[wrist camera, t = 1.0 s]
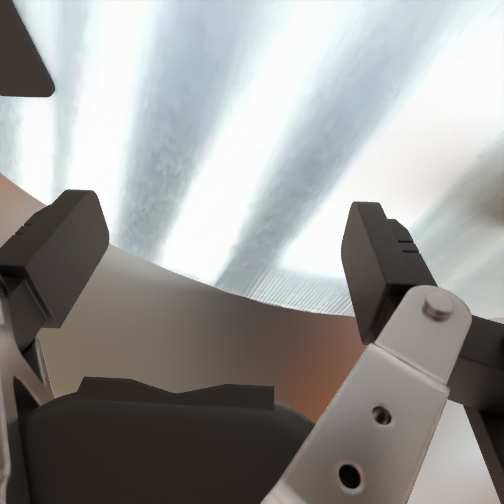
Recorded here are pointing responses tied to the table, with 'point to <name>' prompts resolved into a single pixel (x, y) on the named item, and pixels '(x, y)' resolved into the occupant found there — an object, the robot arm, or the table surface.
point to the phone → (20, 59)
